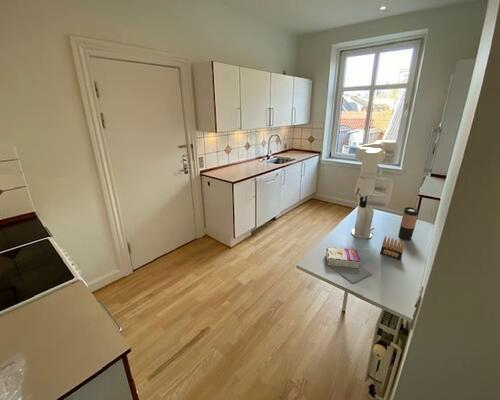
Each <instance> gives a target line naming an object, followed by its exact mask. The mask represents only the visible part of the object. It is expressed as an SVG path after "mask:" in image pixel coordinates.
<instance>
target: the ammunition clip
mask: <svg viewBox="0 0 500 400" xmlns="http://www.w3.org/2000/svg"><path fill="white" fill-rule="evenodd" d="M394 239H395V240H394ZM390 240H391V241H390ZM401 240H402V239H399V240H398V239H397V238H394V237H392V238H391V237H390V236H389V237H388V238H387V235H386V236H384V237H383V241H382V244H381V249H380V251H379V252H380V253H379V255H382V256H385V257H388V258H391V259H394V260H398V261H402V257H403V253H404V248H405V240H403V241H402V242H401Z"/></svg>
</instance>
